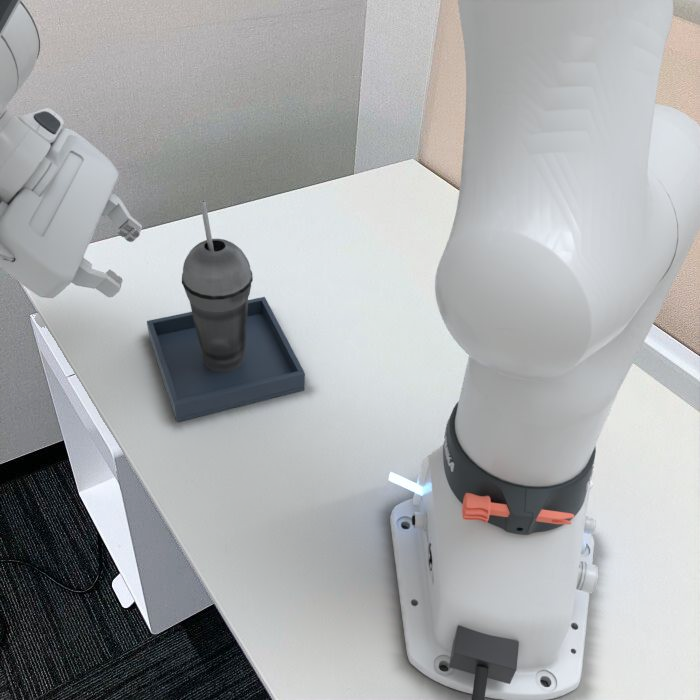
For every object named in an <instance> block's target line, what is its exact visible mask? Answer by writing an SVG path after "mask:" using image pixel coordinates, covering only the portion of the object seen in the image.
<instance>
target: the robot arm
mask: <svg viewBox="0 0 700 700" xmlns="http://www.w3.org/2000/svg"><path fill="white" fill-rule="evenodd" d="M457 6H458V7H457V8H458V13H459V20H460V25H461V33H462V39H463V47H464V58H465V59H464V61H465V81H466V82H465V83H466V84H465V90H466V91H465V112H464V113H465V117H464V132H463V144H462V146H463V147H462V148H463V149H462V160H461V169H460V180H459V181H460V182H459V189H458V198H457V204H456V209H455V215H454V219H453V223H452V227H451V230H450V233H449V236H448V239H447V241H446V245H445V247H444V250H443V251H442V255H441V257H440V260H439V261H438V265H437V268H436V272H435V278H434V295H435V301H436V305H437V309H438V311H439V315H440V317H441V319H442V321H443V324H444V325H445V327H446V329H447V331H448V332H449V334H450V336H451V337H452V338H453V340H454V341H455V342H456V344H457V345H458V346H459V347H460V348H461V350H463V351H464V352H465V353H466V354H467V355H468V358H467V363H466V366H465V371H464V376H463V381H462V385H461V389H460V394H459V398H458V401H457V402H456V403H455V405H454V407H453V408H452V411H451V413H450V416H449V418H448V420H447V421H446V422H447V423H446V426H445V430H444V435H443V439H444V440H443V444H442V445H441V446H440V447H437V449H436V450H434V451H433V452H431V453H429V454H428V455H427V456H426V457H424V458H423V459H422V461H421V465H420V469H419V473H418V477H417V481H416V482H414V481H412V480H409V479H408V478H405V477H403V476H401V475H399V474H396V473H394V472H392V471H390V473H389V475H388V481H390V482H391V483H393V484H395V485H398V486H401V487H402V488H405V489H407V490H409V491H411V492H413V493H414V494H413V496H412V498H411V497H410V498H409V499H407V500H404V501H401V502H399V503H397V504H396V505H395V506H394V507H393V508H392V511H391V514H390V516H389V523H390V532H391V539H392V540H391V541H392V546H393V547H392V549H393V555H394V556H393V557H394V564H395V572H396V580H397V586H398V595H399V603H400V609H401V610H400V611H401V618H402V619H401V620H402V627H403V634H404V642H405V650H406V655H407V659H408V661H409V663H410V664H411V665H412V666H413V667H414V668H415V669H417V670H418V671H419V672H420V673H421V674H423V675H424V676H426V677H427V678H429V679H431V680H433V681H434V682H437V683H439V684H441V685H442V686H445V687H447V688H451V689H453V690H456V691H459V692H463V693H466V694H469V695H471V700H486V699H485V698H487V699H495V700H552V699H556V698H560V697H563V696H565V695H567V694H569V693H571V692H573V691H575V690H576V689H577V688H578V686H580V683H581V678H582V672H583V664H584V656H585V655H584V654H585V643H586V634H587V633H586V632H587V623H588V615H589V614H588V612H589V603H590V594H592V593H594V592H595V590H596V588H597V584H598V580H599V567H598V565H596V564H593V563H594V552H595V539H594V537H593V535H594V533H595V531H596V529H597V528H596V527H597V519H596V518H593V517H590V516H587V511H588V504H589V495H590V492H591V491H592V489H593V486H594V482H593V481H592V478H593V473H594V468H595V467H594V464H595V461H596V460H595V459H596V452H597V449H596V448H597V447H596V446H597V443H598V441H599V438H600V436H601V433H602V432H603V428H604V427H605V424H606V422H607V420H608V417H609V415H610V412H611V410H612V408H613V405H614V403H615V401H616V398H617V396H618V394H619V392H620V390H621V387H622V386H623V383H624V381H625V379H626V378H627V376H628V374H629V371H630V370H631V368H632V366H633V364H634V362H635V360H636V359H637V356H638V354H639V352H640V350H641V349H642V346H643V344H644V343H645V341H646V339H647V337H648V335H649V333H650V331H651V329H652V327H653V325H654V323H655V321H656V320H657V317H658V315H659V313H660V311H661V309H662V307H663V305H664V303H665V301H666V299H667V297H668V295H669V294H670V292H671V289H672V287H673V285H674V283H675V281H676V279H677V277H678V275H679V273H680V270H681V268H682V267H683V264H684V262H685V260H686V258H687V256H688V254H689V252H690V250H691V248H692V245H693V243H694V241H695V239H696V237H697V235H698V233H699V231H700V125H699V124H698V123H697V122H696V121H695V120H694V119H693V118H692V117H690V116H689V115H688V114H686V113H684V112H683V111H681V110H679V109H677V108H674V107H671V106H670V105H669V106H668V105H666V104H665V105H664V104H659V103H656V101H657V92H658V86H659V81H660V74H661V68H662V63H663V57H664V53H665V49H666V45H667V42H668V40H669V36H670V33H671V29H672V23H673V18H674V17H673V16H674V0H457ZM40 51H41V39H40V34H39V30H38V28H37V25H36V22H35V20H34V18H33V16H32V14H31V13H30V11H29V10H28V8H27V7H26V5H25V4H24V3H23V1H22V0H0V268H2V269H3V271H5V272H6V273H7V274H9V275H10V276H11V277H12V278H14V279H15V280H16V281H17V282H19V283H20V284H21V285H22V286H23V287H25V288H26V289H27V290H29V291H31V293H32V294H34V295H36V296H37V297H40V298H46V299H55V298H56V297H57V296H58V295H60V294H61V293H62V292H63V291H64V290H65V289H66V288H67V287H68V286H69V285H71V284H73V285H74V286H77V287H83V288H88V289H94V290H97V291H99V292H100V293H101V294H103V295H104V296H105V297H107V298H114V296H116V295H117V294H118V293H119V292H120V291H121V288H122V285H123V281H124V280H123V277H121V276H120V275H117V274H116V272H115V271H113V270H112V269H110V268H109V269H108V270H107V271H105V272H104V271H101V270H98V269H94V268H92V267H93V263H92V262H90V261H88V260H87V259H86V258H85V257H84V256H85V254H86V252H87V250H88V248H89V245H90V243H91V241H92V239H93V236H94V234H95V231H96V230H97V227H98V225H99V223H100V220H101V218H102V217H104V218H105V217H108V218H109V219H110V221H111V222H112V223H113V224H114V225H115V227H116V228H117V229H118V230H117V232H116V233H117V235H119V236H120V237H122V238H124V240H126V242H129V243H133V242H134V241H135V240H136V239H137V238H138V237H140V234H141V232H142V229H143V226H142V224H141V223H140V222H139V221H137V220H136V219H135V218H134V217H133V216H131V214H130V212H129V210H128V209H127V207H126V206H125V204H124V202H123V201H122V199H121V198H120V197H118V196H117V195H116V194H115V193H113V191H114V189H115V186H116V185H117V182H118V180H119V177H120V174H119V172H118V169H117V168H116V167H115V165H114V163H113V162H112V161H111V160H110V159H109V158H108V157H107V156H106V155H105V154H104V153H102V152H101V151H100V150H99V149H98V148H97V147H95V146H94V145H93V144H92V143H91V142H90V141H89V140H87V139H86V138H84V136H82V135H81V134H79V133H78V132H77V131H75V130H72V129H71V128H65V127H64V125H65V121H64V119H63V118H62V117H61V115H60V114H58V113H57V112H56V111H54V109H51V108H50V107H45V108H42V109H39V110H36V111H33V112H30V113H27V114H21V115H19V116H18V117H17V116H16V115H15V114H14V113H12V112H11V111H10V110H9V109H7V108H6V107H7V106H8V104H9V103H10V102H11V100H12V99H13V98H14V96H15V95H16V94H17V92H18V91H19V90H20V89H21V87H22V86H23V85H24V83H26V81H27V80H28V78H29V77H30V75H31V74H32V72H33V70H34V67H35V65H36V62H37V59H38V58H39V55H40ZM403 527H406V528H403ZM440 666H445V667H446V668H447V670H446V671H443V670H442V669H441V668H440ZM541 681H545V682H546V683H547V684H548V686H545V685H543V684H542V682H541Z"/></svg>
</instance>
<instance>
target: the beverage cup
mask: <svg viewBox="0 0 700 700" xmlns="http://www.w3.org/2000/svg"><path fill="white" fill-rule="evenodd" d="M199 203H200V211H201V216H202V220H203V221H202V222H203V226H204V232H205V238H206V239H205V240H203V241H201V242H199V243H198V244H196V245H195V246H193V247H192V249H190V251H188V254H187V256H186V257H185V259H184V261H183V266H182V273H181V285H182V286H183V289H184V292H185V294H186V296H187V299H188V301H189V305H190V309H191V312H192V314H193V319H194V323H195V327H196V332H197V336H198V341H199V345H200V350H201V353H202V356H203V359H204V364H205V366H206V367H207V368H208V369H209V370H211V371H214V372H218V373H228V372H232V371H234V370H236V369H238V368H239V367H240V366H241V365H242V364H243V361H244V352H245V343H246V326H247V309H248V300H249V297H250V293H251V290H252V282H253V280H254V279H253V278H254V275H253V271H252V269H251V265H250V262H249V259H248V257H247V256H246V254H245V252H244V251H243V250H242V249H241V247H239V246H238V245H236V244H235V243H234V242H231V241H229V240H227V239H225V238H223V239H222V238H213V237H212V236H213V235H212V231H211V226H210V225H211V224H210V219H209V214H208V213H209V212H208V209H207V208H208V207H207V203H206V200H204V199H201V200H200V201H199Z"/></svg>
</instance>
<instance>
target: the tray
mask: <svg viewBox="0 0 700 700" xmlns="http://www.w3.org/2000/svg"><path fill="white" fill-rule="evenodd" d="M277 319H278V318H277V317H276V315H275V314H274V312H273V309H272V308H271V305H270V304H269V302H268V300H267V298H266V297H265V296H262V297H261V296H260V297H256V298H252V299H248V309H247V326H246V343H245V352H244V361H243V364H242V365H241V366H240V367H239V368H238V369H236V370H234V371H232V372H228V373H218V372H214V371H211V370H209V369H208V368H207V367H206V366H205V364H204V359H203V356H202V353H201V350H200V345H199V341H198V336H197V332H196V327H195V323H194V319H193V314H192V311H189V312H184V313H179V314H174V315H168V316H164V317H160V318H153V319H149V320H147V321H146V326H147V331H148V332H147V333H148V337H149V340H150V344H151V347H152V350H153V353H154V356H155V359H156V362H157V365H158V368H159V371H160V374H161V378H162V380H163V381H162V382H163V384H164V387H165V389H166V394H167V396H168V399H169V402H170V405H171V408H172V411H173V415H174V418H175V420H176V422H177V423H179V422H183V421H187V420H190V419H195V418H198V417H199V418H200V417H202V416H207V415H211V414H214V413H218V412H223V411H227V410H230V409H234V408H235V409H236V408H239V407H243V406H247V405H251V404H254V403H259V402H262V401H266V400H270V399H274V398H279V397H282V396H287V395H290V394H294V393H298V392H301V391H305V387H306V385H305V384H306V383H305V381H306V372H305V371H304V369H303V367H302V365H301V362H300V361H299V359H298V358H297V355H296V354H295V352H294V349H293V347H292V346H291V344H290V342H289V340H288V339H287V337H286V335H285V333H284V330H283V329H282V327H281V325H280V323H279V320H277Z"/></svg>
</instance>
